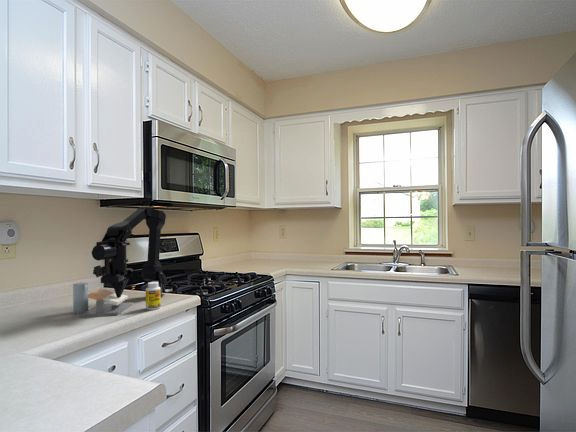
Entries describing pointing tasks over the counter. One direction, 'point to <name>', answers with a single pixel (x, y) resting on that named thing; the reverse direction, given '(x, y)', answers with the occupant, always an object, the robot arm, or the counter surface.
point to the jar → (80, 297)
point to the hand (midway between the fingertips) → (118, 297)
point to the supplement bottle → (153, 296)
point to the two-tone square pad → (107, 296)
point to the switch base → (106, 309)
